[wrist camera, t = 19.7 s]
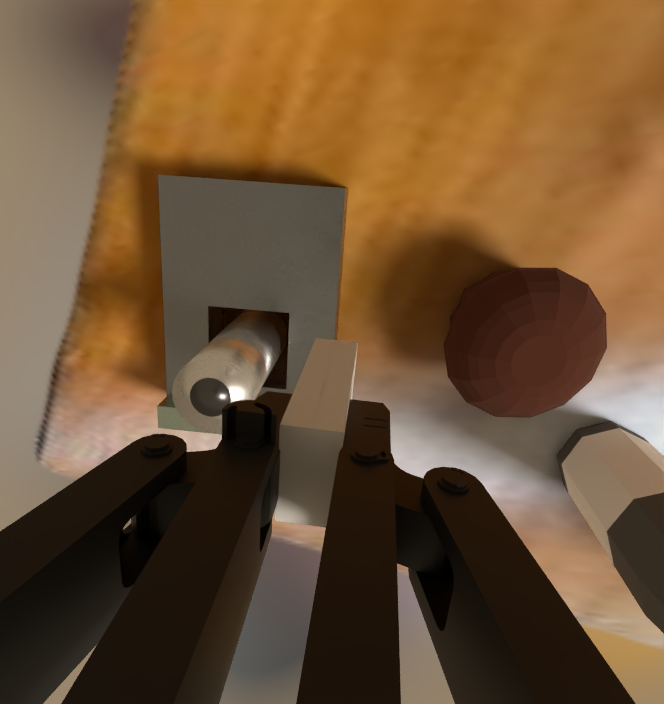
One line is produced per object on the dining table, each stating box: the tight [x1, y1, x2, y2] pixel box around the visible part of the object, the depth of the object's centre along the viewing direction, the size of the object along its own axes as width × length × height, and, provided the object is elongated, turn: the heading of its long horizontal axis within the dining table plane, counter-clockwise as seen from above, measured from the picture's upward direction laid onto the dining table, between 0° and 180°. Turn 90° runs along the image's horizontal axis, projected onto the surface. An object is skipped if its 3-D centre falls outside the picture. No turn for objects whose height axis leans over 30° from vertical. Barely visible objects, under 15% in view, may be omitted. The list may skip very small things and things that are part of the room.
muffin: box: [444, 268, 607, 417], centre depth 38 cm, size 12×11×10 cm
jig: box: [157, 175, 348, 434], centre depth 41 cm, size 20×14×6 cm
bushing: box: [172, 309, 287, 433], centre depth 38 cm, size 5×5×14 cm
